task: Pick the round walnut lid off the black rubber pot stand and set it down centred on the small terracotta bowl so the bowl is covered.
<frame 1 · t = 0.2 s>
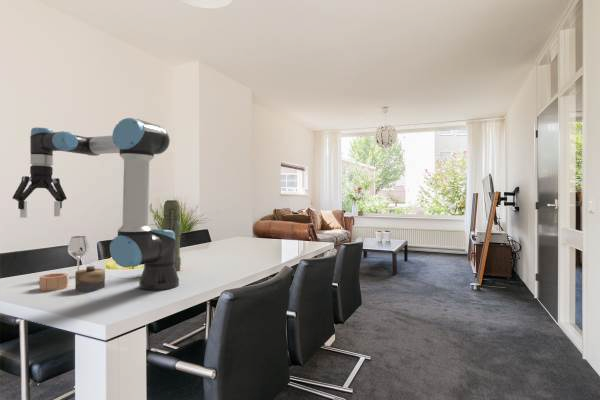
hand: (41, 217, 147), 28 cm above the table, fingers open, 13 cm apart
stand: (90, 288, 140), on the table
lid: (90, 281, 140), point 3 cm above the table, touching stand
wineglass: (78, 277, 161), on the table
thermos: (171, 271, 177), on the table
bowl: (54, 288, 140), on the table
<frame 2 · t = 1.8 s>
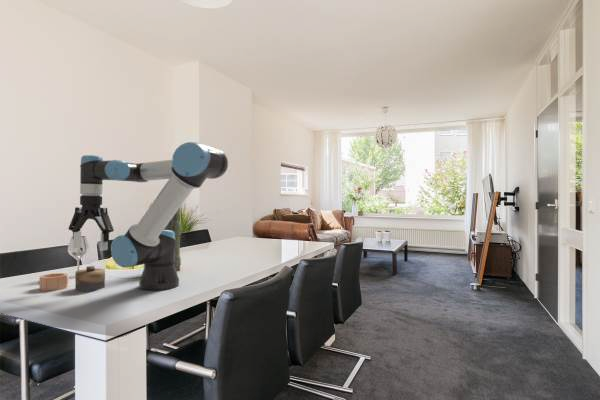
hand: (90, 249, 140), 15 cm above the table, fingers open, 13 cm apart
nothing on the table moved.
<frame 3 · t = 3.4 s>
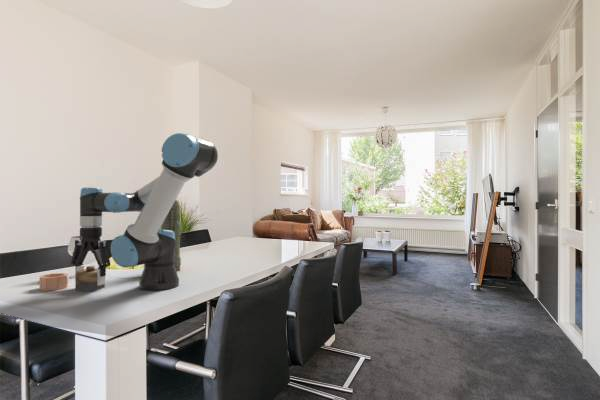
hand: (90, 283, 140), 2 cm above the table, fingers closed on lid, 10 cm apart
lid: (90, 281, 140), point 3 cm above the table, touching gripper, stand
everything else where it was.
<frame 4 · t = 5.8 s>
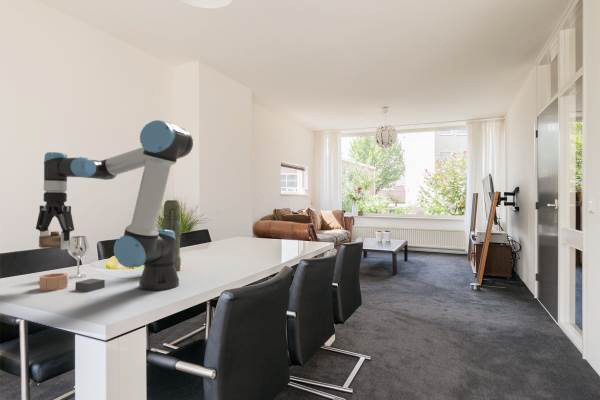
hand: (54, 248, 140), 16 cm above the table, fingers closed on lid, 10 cm apart
lid: (54, 245, 140), point 17 cm above the table, touching gripper
everything else where it was.
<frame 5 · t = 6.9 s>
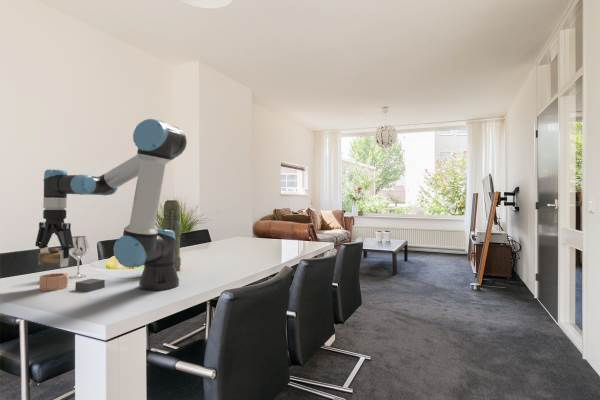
hand: (53, 265, 140), 9 cm above the table, fingers closed on lid, 10 cm apart
lid: (54, 262, 140), point 10 cm above the table, touching gripper
everything else where it was.
when the fingers open (6 cm above the table, at t = 8.1 s): lid drops 2 cm, resting on bowl.
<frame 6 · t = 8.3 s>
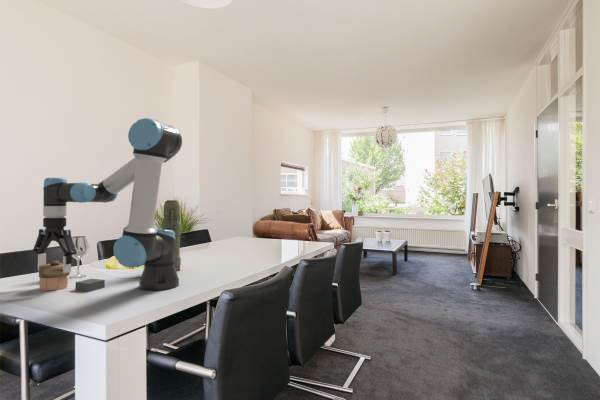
hand: (54, 271, 140), 7 cm above the table, fingers open, 13 cm apart
lid: (54, 275, 140), point 5 cm above the table, touching bowl
everything else where it was.
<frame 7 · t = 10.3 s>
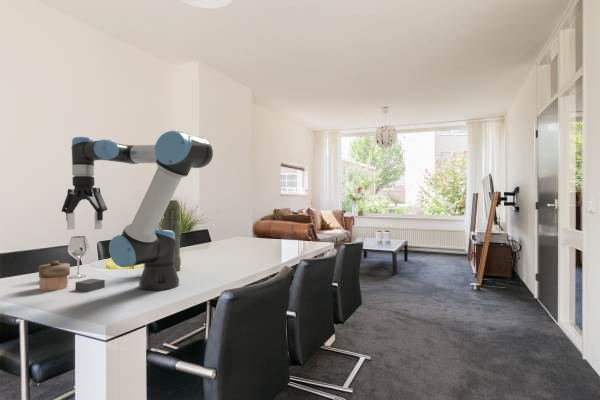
hand: (84, 229, 142), 23 cm above the table, fingers open, 13 cm apart
nothing on the table moved.
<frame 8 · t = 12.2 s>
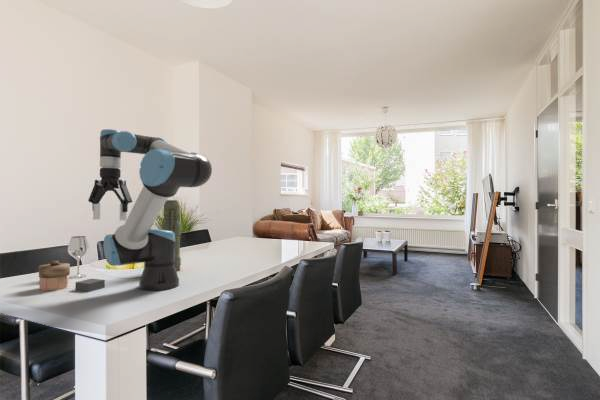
hand: (109, 220, 146), 27 cm above the table, fingers open, 13 cm apart
nothing on the table moved.
at the end: lid 0.2 cm off-centre on the bowl, point 5.0 cm above the bowl's base; lid tilted 0°; the gripper is holding nothing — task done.
